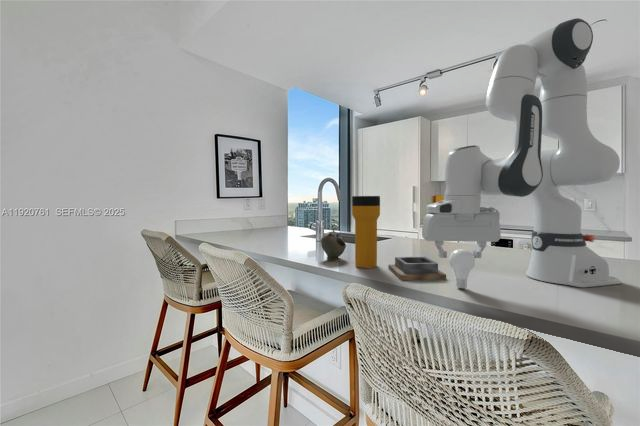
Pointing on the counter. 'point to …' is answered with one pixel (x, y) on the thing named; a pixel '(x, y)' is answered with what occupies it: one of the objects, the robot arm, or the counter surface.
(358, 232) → the flashlight
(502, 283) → the counter surface
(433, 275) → the socket base
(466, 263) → the lightbulb
